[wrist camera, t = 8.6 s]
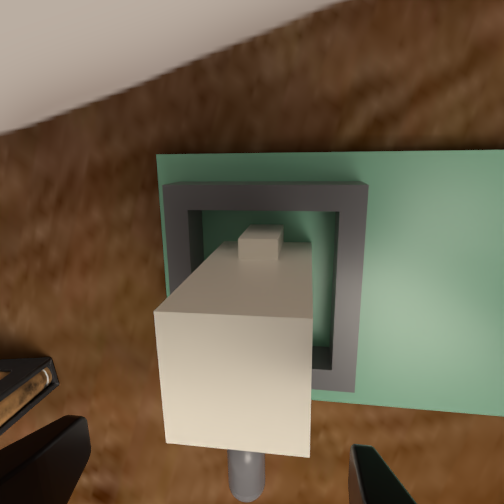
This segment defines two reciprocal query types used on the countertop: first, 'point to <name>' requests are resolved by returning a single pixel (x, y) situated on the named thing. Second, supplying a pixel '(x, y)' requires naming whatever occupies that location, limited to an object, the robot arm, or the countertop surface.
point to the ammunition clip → (23, 387)
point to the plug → (241, 354)
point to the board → (368, 262)
